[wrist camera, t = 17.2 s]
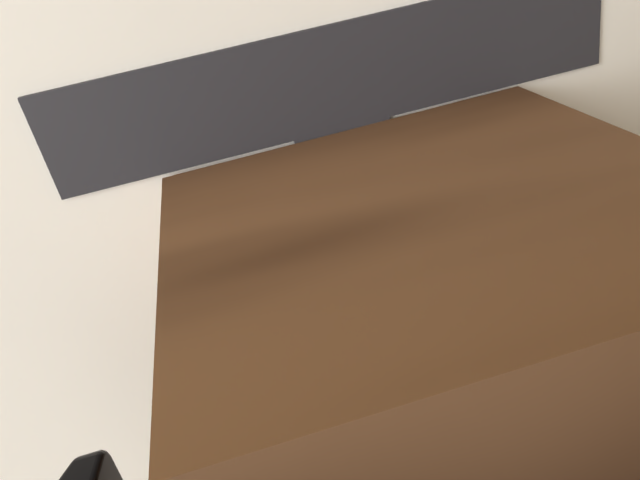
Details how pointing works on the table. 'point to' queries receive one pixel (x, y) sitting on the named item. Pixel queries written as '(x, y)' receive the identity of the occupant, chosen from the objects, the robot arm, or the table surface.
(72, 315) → the letter tile
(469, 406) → the cube
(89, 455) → the robot arm
